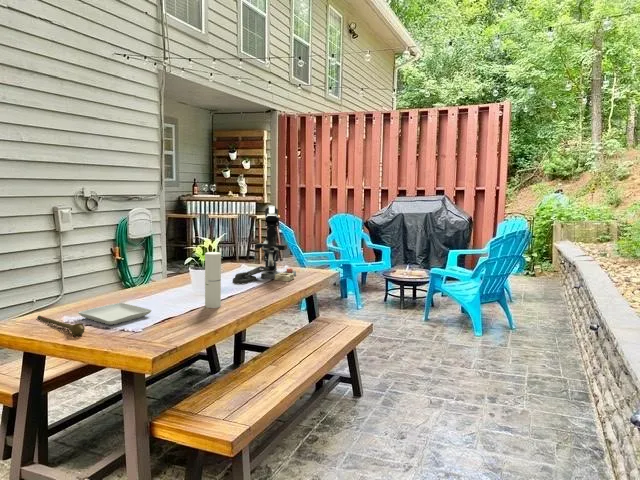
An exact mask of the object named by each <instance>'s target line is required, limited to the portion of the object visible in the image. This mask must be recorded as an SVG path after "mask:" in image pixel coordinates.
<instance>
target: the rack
mask: <svg viewBox="0 0 640 480" xmlns="http://www.w3.org/2000/svg"><path fill="white" fill-rule="evenodd" d="M294 278H295V276H294V274H291V273H283V272H280V273H278V274H276V275H275V279H274V281H281V282H291V281H292V280H294Z"/></svg>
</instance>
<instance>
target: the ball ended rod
mask: <svg viewBox="0 0 640 480" xmlns="http://www.w3.org/2000/svg"><path fill="white" fill-rule="evenodd" d="M36 318H37V319H38V320H40V321H43V322H45V323H49V324H51V325H56V326H58V327H60V328H61V327H62V328H65V329H66V330H67V329H68V330H69V332H71V334H72V336H76V337H79V336H81V335H83V334H84V332H85V325H83V324H82V323H81V322H80V323H79V322H77V323H75V324H72V323H66V322H61V321H59V320H55V319H53V318H50V317H49V318H48V317H45V316H42V315H38V316H37V317H36Z"/></svg>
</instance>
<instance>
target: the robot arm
mask: <svg viewBox="0 0 640 480" xmlns="http://www.w3.org/2000/svg"><path fill="white" fill-rule="evenodd" d="M278 215H279V209H277V208H276V206H275V205H268V206H267V207H266V208H265V209H264V217H265V227H266V237H265V239H264V241H263V242H258V243H255V249H259V250H260V249H261V248H262V249H261V251H263V252H264V253H263V254H264V256H263V258H264V259H263V261H264V262H265V266H264V267H268V268H269V270H270V271H272V272H274V271H276V270H277V264H278V263H277V262H278V261H279V254H278V253H279V252H280V251H286V250H288V246H287V245H288V244H284V243H283V244H282V243H280V244H278V243H277V239H278V237H277V227H279V225H280V218H279V216H278ZM269 251H273V252H274V254H273V261H274V266H268V255H269V254H268V252H269ZM275 269H276V270H275ZM269 270H268V271H269ZM273 270H274V271H273Z"/></svg>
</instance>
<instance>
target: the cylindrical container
mask: <svg viewBox="0 0 640 480" xmlns="http://www.w3.org/2000/svg"><path fill="white" fill-rule="evenodd" d="M204 275H205V276H204V307H205V308H208V309H217V308H220V307H222V306H221V302H222V301H221V300H222V299H221V298H222V297H221V295H222V293H221V292H222V282H221V281H222V279H221V278H222V253H221V252H219V251H218V252H217V251H207V252H205V253H204Z"/></svg>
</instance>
